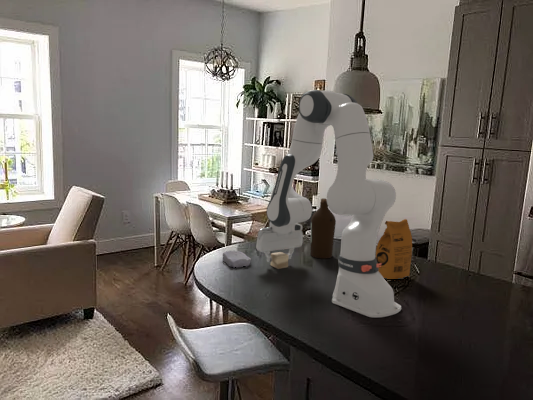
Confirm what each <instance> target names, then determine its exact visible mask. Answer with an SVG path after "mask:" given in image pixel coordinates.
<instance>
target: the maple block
mask: <svg viewBox="0 0 533 400" xmlns="http://www.w3.org/2000/svg"><path fill="white" fill-rule="evenodd" d="M287 254H288V253H284V252H282V251H279V252H278V251H277V252H272V253H271V252H270V257H272V262H270V266H271V267H273V268H275V269H278V270H279V269H286V268H289V259H288V256H289V255H287Z"/></svg>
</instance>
